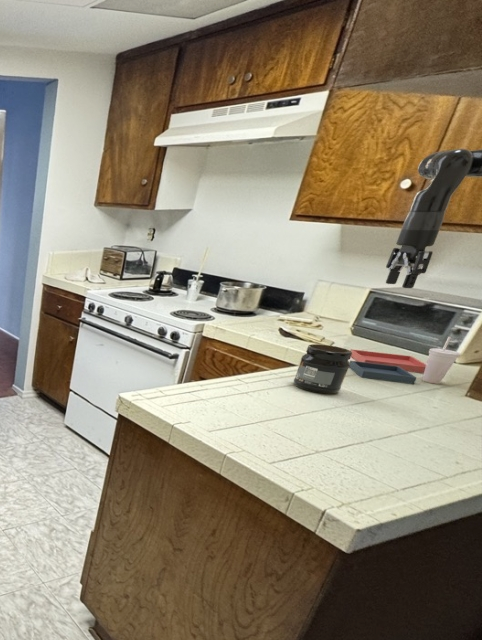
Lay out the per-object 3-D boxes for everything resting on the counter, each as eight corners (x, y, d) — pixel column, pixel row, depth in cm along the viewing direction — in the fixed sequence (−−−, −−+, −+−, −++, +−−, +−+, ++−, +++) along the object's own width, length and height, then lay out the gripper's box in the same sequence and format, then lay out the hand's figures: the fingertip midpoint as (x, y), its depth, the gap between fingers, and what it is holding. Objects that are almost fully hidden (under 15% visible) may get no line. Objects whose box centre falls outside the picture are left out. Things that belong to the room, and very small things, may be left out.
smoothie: (432, 378, 146) (452, 334, 141) (452, 385, 140) (475, 340, 135) (409, 377, 146) (429, 334, 141) (429, 384, 141) (450, 339, 135)
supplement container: (335, 386, 137) (350, 347, 133) (342, 397, 129) (358, 356, 125) (290, 379, 143) (303, 341, 138) (294, 389, 135) (308, 349, 130)
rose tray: (408, 361, 162) (411, 356, 161) (428, 373, 150) (431, 367, 149) (348, 354, 169) (350, 349, 168) (363, 365, 157) (365, 359, 156)
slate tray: (396, 372, 151) (399, 366, 150) (413, 384, 141) (416, 377, 140) (347, 366, 156) (350, 360, 155) (361, 377, 146) (363, 370, 145)
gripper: (455, 229, 126) (430, 290, 132) (422, 227, 138) (400, 283, 144) (418, 229, 128) (396, 288, 134) (389, 227, 141) (369, 282, 146)
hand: (398, 285), depth 139 cm, fingers open, 8 cm apart
